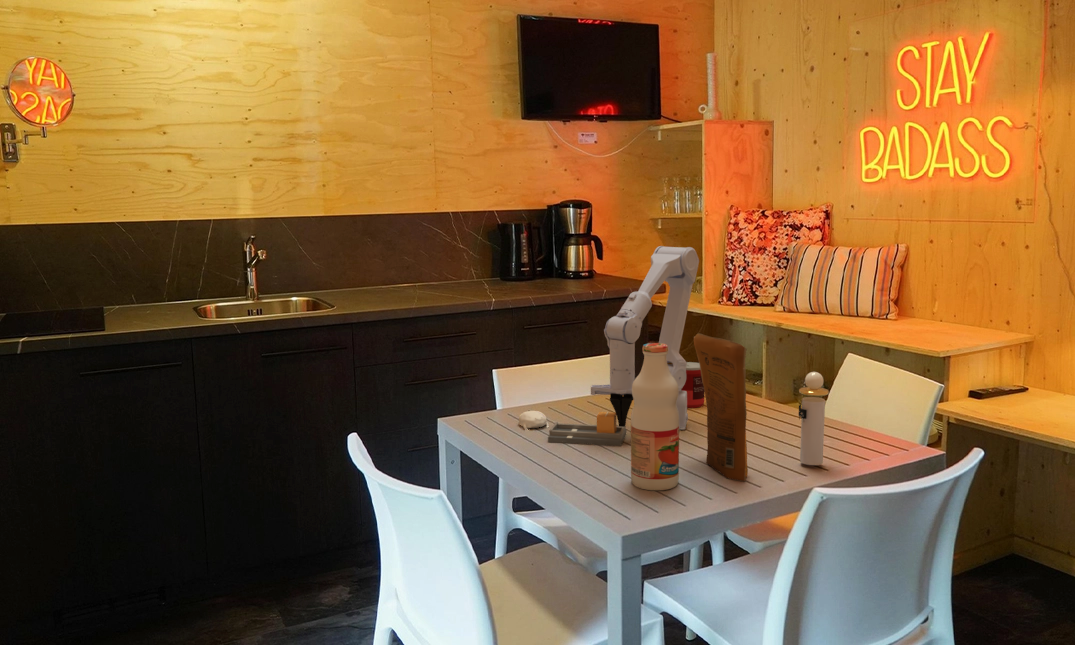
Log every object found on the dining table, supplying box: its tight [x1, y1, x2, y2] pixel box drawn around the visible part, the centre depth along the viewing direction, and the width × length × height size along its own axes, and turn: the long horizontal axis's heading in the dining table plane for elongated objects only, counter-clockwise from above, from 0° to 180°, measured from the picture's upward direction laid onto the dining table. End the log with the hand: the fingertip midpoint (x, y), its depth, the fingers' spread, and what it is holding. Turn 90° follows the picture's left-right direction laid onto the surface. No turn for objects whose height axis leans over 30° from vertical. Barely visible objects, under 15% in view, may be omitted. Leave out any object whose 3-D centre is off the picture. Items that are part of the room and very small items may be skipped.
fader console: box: [547, 421, 628, 447], centre depth 198 cm, size 17×10×2 cm, turn 76°
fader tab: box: [596, 411, 617, 433], centre depth 197 cm, size 4×4×4 cm
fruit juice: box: [630, 342, 680, 491], centre depth 165 cm, size 9×9×28 cm
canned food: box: [681, 361, 705, 409], centre depth 226 cm, size 8×8×11 cm
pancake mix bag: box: [693, 332, 749, 482], centre depth 173 cm, size 7×19×28 cm, turn 13°
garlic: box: [518, 410, 550, 431], centre depth 209 cm, size 8×7×4 cm
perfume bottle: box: [798, 371, 830, 466], centre depth 175 cm, size 6×6×20 cm
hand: (622, 425), depth 196 cm, fingers closed
